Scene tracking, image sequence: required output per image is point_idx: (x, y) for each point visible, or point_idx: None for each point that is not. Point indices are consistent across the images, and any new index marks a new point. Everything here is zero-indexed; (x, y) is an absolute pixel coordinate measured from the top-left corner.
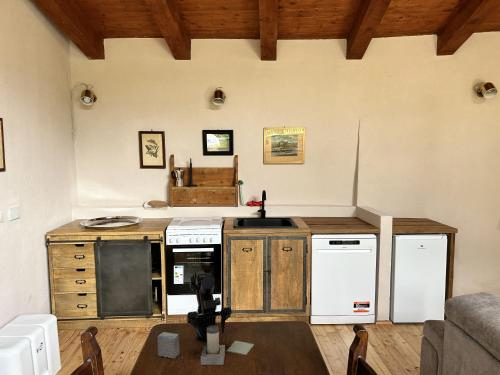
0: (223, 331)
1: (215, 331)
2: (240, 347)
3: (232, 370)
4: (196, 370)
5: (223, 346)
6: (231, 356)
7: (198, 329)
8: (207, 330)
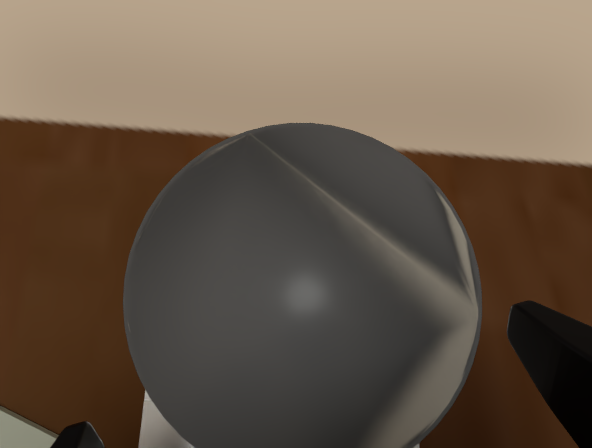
0: (59, 443)
1: (229, 152)
2: None
3: (116, 126)
4: (414, 150)
5: (158, 417)
6: (101, 359)
7: None
8: (439, 211)
